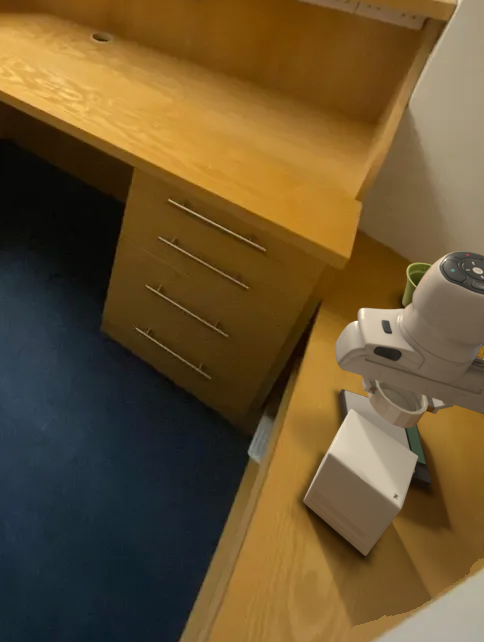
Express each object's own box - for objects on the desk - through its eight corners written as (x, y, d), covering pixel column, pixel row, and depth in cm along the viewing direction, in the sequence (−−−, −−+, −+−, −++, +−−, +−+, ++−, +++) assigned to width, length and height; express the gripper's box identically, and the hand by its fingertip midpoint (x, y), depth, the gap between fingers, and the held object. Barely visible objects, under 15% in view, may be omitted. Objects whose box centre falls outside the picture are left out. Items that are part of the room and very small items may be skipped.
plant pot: (385, 307, 106) (400, 280, 102) (400, 282, 112) (414, 254, 107) (438, 339, 100) (456, 311, 96) (451, 310, 105) (468, 282, 101)
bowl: (410, 393, 82) (421, 377, 80) (422, 436, 77) (433, 421, 75) (363, 378, 84) (372, 362, 82) (371, 419, 79) (380, 404, 77)
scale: (409, 418, 88) (415, 409, 86) (427, 489, 79) (433, 482, 77) (338, 394, 91) (342, 386, 90) (347, 461, 82) (352, 453, 81)
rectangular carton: (385, 505, 77) (422, 456, 70) (365, 558, 72) (403, 512, 64) (323, 455, 83) (351, 405, 75) (300, 501, 78) (328, 452, 70)
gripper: (510, 349, 72) (469, 402, 79) (348, 304, 78) (323, 357, 85) (530, 392, 67) (484, 445, 74) (355, 340, 73) (327, 393, 80)
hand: (396, 397), depth 79 cm, fingers closed on bowl, 7 cm apart
